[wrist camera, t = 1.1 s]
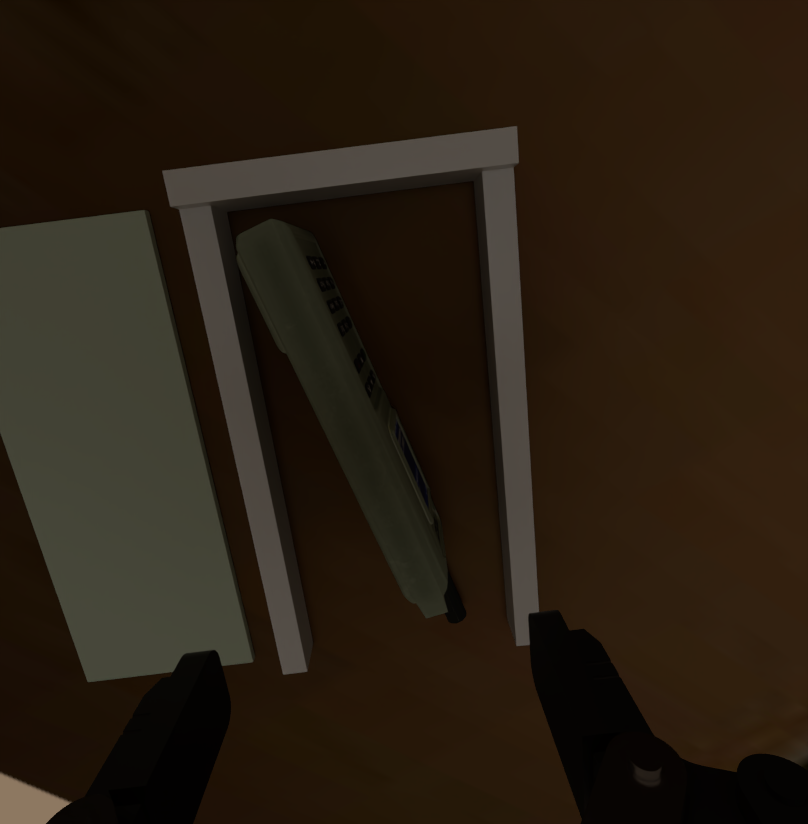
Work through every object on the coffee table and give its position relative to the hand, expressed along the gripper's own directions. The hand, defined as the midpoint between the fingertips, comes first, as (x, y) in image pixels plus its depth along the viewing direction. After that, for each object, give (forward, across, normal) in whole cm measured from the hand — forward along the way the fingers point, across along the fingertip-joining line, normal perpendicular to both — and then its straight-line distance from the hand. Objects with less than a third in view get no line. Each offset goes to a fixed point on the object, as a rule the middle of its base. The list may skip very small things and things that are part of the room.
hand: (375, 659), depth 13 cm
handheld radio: (+18, 0, 0) cm, 18 cm away
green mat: (+18, +16, 0) cm, 24 cm away
